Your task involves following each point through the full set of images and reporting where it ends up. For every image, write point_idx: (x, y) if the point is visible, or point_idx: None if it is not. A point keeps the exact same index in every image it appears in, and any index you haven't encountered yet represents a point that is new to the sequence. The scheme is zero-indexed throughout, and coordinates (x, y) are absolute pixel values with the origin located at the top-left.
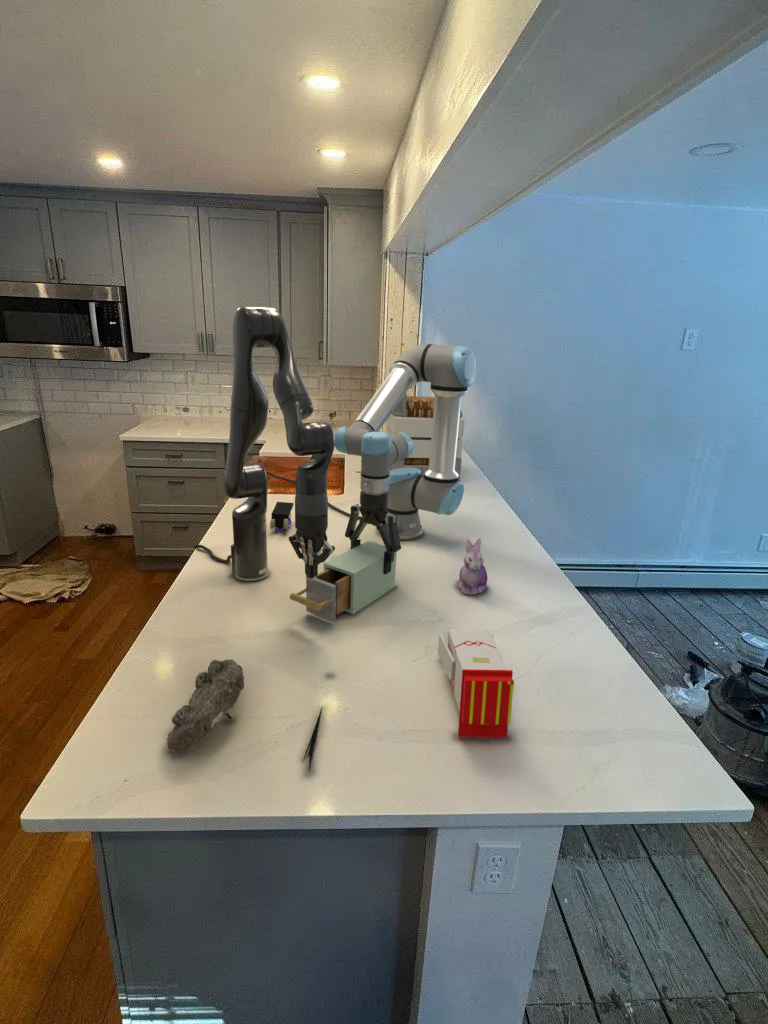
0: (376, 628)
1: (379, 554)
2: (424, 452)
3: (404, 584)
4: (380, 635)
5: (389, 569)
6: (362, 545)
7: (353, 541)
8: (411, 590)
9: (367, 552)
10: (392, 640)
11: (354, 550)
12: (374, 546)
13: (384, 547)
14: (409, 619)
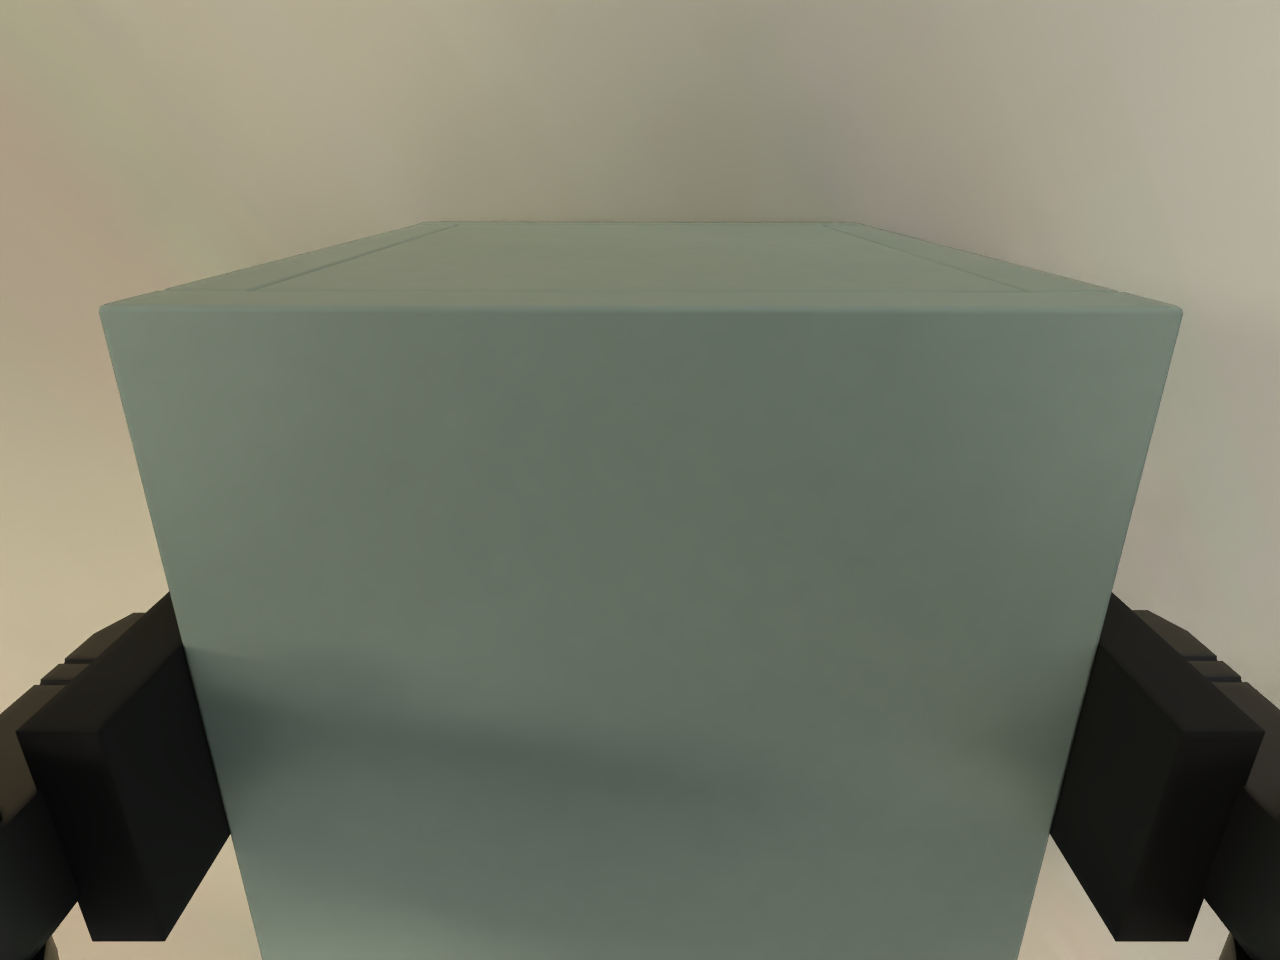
0: (1047, 897)
1: (906, 810)
2: None
3: (930, 62)
4: (1111, 940)
5: None
6: (269, 667)
7: (63, 891)
8: (1077, 156)
9: (629, 873)
10: (1214, 940)
11: (354, 941)
12: (537, 536)
13: (797, 414)
14: (1251, 675)
